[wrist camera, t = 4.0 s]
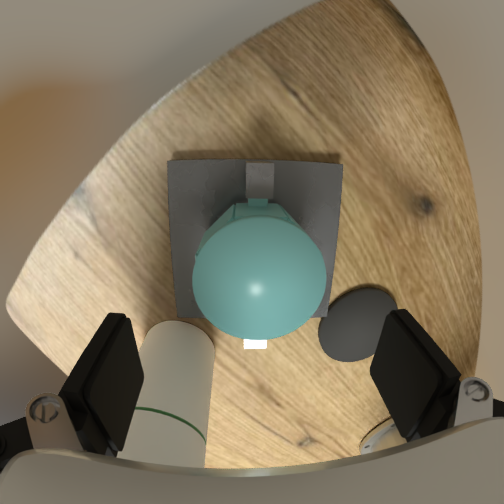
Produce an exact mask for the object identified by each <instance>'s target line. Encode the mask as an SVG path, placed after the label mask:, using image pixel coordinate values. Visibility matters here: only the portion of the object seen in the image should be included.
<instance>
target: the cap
mask: <svg viewBox="0 0 504 504" xmlns="http://www.w3.org/2000/svg"><path fill="white" fill-rule="evenodd" d="M192 286H193V293H194V296H195V300H196V302H197V304H198V306H199V308H200V310H201V311H202V313H203V314H204V316H205V317H206V318H207V319H208V320H209V321H210V322H211V323H212V324H213V325H214V326H216V327H217V328H218V329H220V330H221V331H223V332H225V333H227V334H229V335H232V336H234V337H238V338H242V339H247V340H268V339H274V338H277V337H281V336H284V335H286V334H288V333H290V332H292V331H294V330H296V329H297V328H299V327H300V326H302V325H303V324H304V323H305V322H306V321H307V320H309V318H310V317H311V316H312V315H313V314H314V313H315V311H316V310H317V308H318V307H319V305H320V303H321V301H322V298H323V295H324V292H325V287H326V268H325V263H324V260H323V255H322V252H321V251H320V250H319V249H318V247H317V246H316V245H315V243H314V242H313V241H312V239H311V238H310V237H309V236H308V234H307V233H306V232H305V231H304V230H303V229H302V228H301V226H300V225H299V224H298V223H297V222H296V221H295V220H294V219H293V218H292V217H291V216H290V215H289V214H288V212H287V211H286V210H285V209H284V208H283V207H282V206H281V205H278V204H274V203H268V199H251V198H248V203H236V206H235V205H234V204H233V205H232V206H231V207H230V208H229V209H228V210H227V211H226V212H225V213H224V214H223V215H222V216H221V217H220V218H219V219H218V220H217V221H216V222H215V223H214V224H213V225H212V226H211V227H210V228H209V229H208V230H207V231H206V232H205V233H204V236H203V238H202V240H201V242H200V245H199V247H198V249H197V252H196V254H195V266H194V269H193V276H192Z"/></svg>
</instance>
